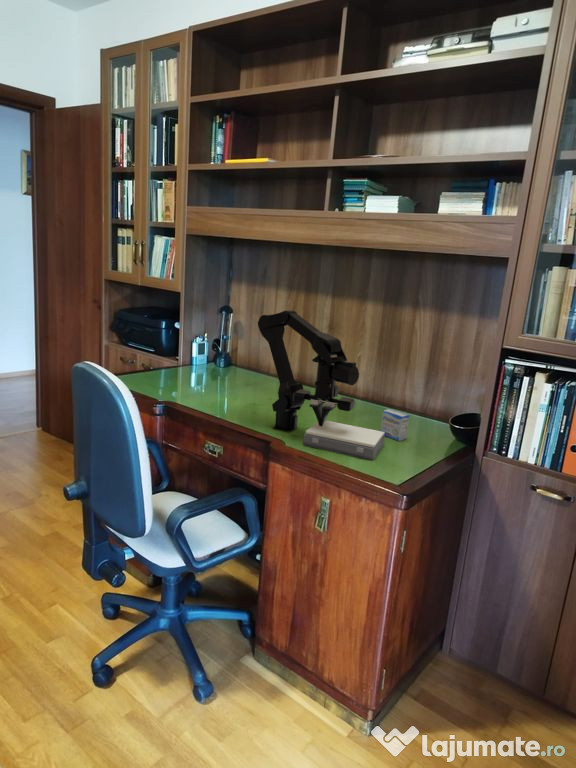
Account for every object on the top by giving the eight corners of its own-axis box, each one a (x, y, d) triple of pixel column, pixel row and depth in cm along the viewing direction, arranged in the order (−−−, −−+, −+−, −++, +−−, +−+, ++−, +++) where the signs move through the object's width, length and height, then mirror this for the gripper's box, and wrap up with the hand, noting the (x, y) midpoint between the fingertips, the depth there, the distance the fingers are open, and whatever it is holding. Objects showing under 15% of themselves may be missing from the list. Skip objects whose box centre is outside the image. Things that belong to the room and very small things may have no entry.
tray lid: (305, 433, 163) (306, 430, 163) (320, 421, 175) (320, 419, 175) (374, 447, 155) (374, 445, 155) (384, 434, 168) (384, 432, 168)
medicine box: (379, 434, 179) (382, 410, 176) (386, 432, 182) (390, 408, 180) (398, 441, 173) (402, 416, 171) (406, 439, 176) (409, 414, 174)
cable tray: (302, 446, 162) (303, 435, 161) (318, 431, 176) (319, 421, 176) (372, 461, 155) (373, 450, 154) (383, 445, 169) (384, 434, 168)
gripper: (361, 378, 167) (356, 424, 171) (306, 369, 174) (302, 414, 177) (352, 385, 157) (346, 434, 161) (294, 375, 164) (290, 423, 167)
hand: (321, 425), depth 167 cm, fingers closed
